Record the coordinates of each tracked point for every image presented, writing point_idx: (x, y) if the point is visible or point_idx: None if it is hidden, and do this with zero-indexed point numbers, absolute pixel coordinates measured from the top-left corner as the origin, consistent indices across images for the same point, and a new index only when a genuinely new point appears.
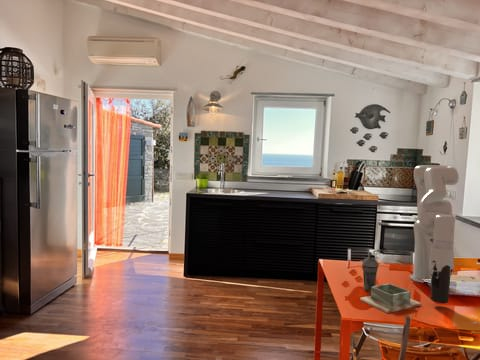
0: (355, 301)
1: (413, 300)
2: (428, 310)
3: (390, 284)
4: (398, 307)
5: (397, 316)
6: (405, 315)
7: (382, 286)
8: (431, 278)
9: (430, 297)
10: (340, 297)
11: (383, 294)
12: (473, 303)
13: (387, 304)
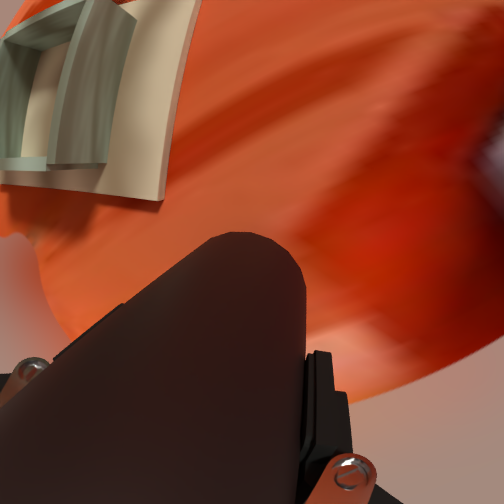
0: None
1: (157, 145)
2: (138, 265)
3: (84, 5)
4: (30, 180)
5: (8, 222)
6: (27, 233)
7: (46, 20)
8: (112, 313)
9: (209, 239)
10: (16, 17)
11: None
12: (459, 354)
13: (14, 143)
